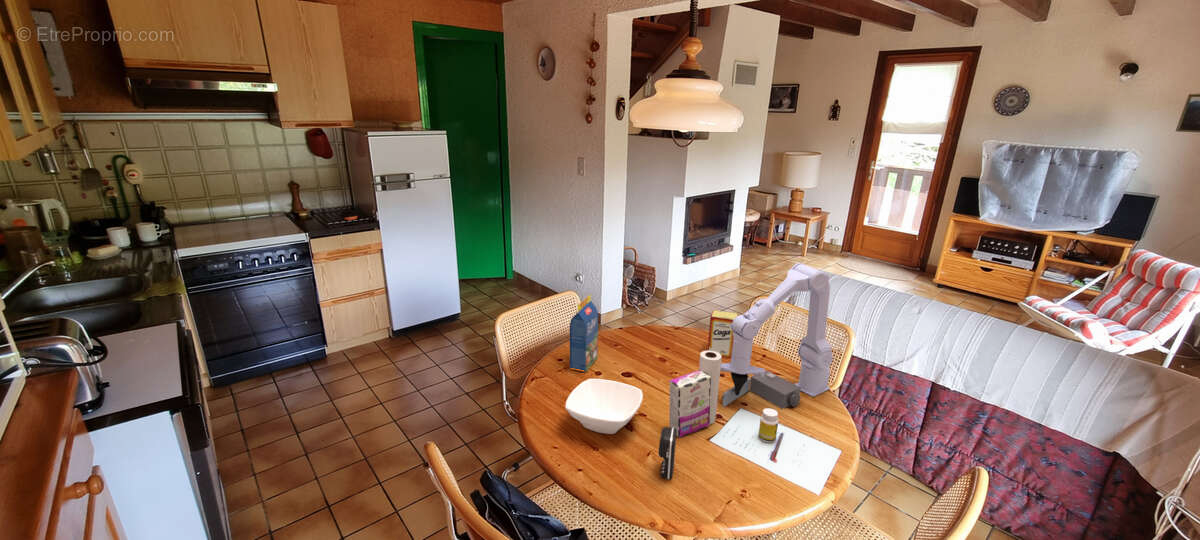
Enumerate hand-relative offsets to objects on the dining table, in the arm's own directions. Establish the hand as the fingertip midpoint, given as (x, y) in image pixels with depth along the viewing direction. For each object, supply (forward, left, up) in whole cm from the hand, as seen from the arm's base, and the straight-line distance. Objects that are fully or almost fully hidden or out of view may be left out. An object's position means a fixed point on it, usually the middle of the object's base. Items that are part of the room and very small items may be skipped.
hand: (736, 393), depth 156 cm
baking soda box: (-22, -27, -4) cm, 35 cm away
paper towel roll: (+14, +1, -4) cm, 14 cm away
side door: (-2, -2, -3) cm, 5 cm away
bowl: (+41, -13, -4) cm, 43 cm away
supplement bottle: (+6, +17, -4) cm, 18 cm away
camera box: (-14, +3, -4) cm, 15 cm away
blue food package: (+27, -47, -4) cm, 54 cm away
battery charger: (+39, +12, -4) cm, 41 cm away
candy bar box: (+22, +2, -4) cm, 22 cm away
